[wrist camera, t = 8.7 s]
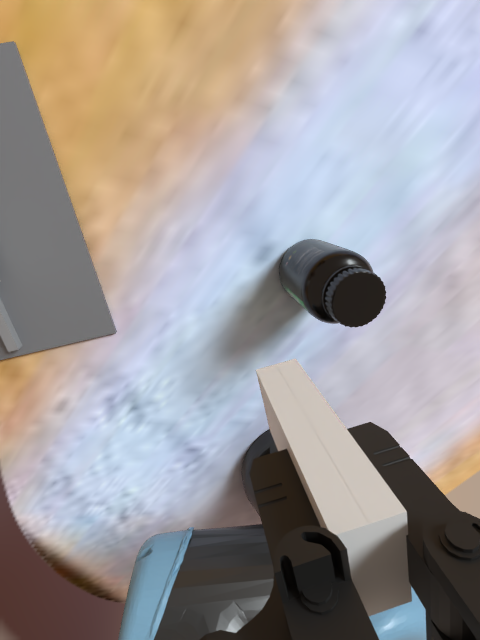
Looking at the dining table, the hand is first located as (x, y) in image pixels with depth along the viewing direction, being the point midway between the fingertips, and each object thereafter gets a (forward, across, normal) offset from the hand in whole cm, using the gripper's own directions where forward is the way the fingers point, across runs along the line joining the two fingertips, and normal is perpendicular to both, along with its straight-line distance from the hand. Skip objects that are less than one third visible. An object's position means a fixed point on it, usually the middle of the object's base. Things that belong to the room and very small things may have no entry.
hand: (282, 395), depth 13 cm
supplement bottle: (+26, -10, +3) cm, 28 cm away
